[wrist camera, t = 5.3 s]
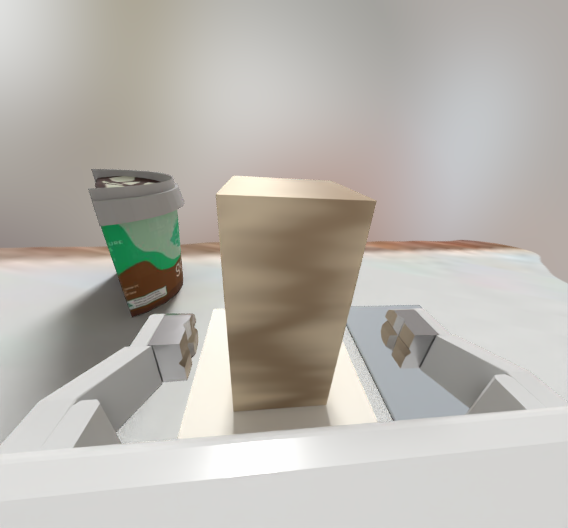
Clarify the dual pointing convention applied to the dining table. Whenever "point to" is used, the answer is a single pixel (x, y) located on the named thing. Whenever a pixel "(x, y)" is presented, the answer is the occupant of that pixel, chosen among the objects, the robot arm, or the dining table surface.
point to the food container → (141, 233)
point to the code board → (343, 393)
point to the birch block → (288, 284)
